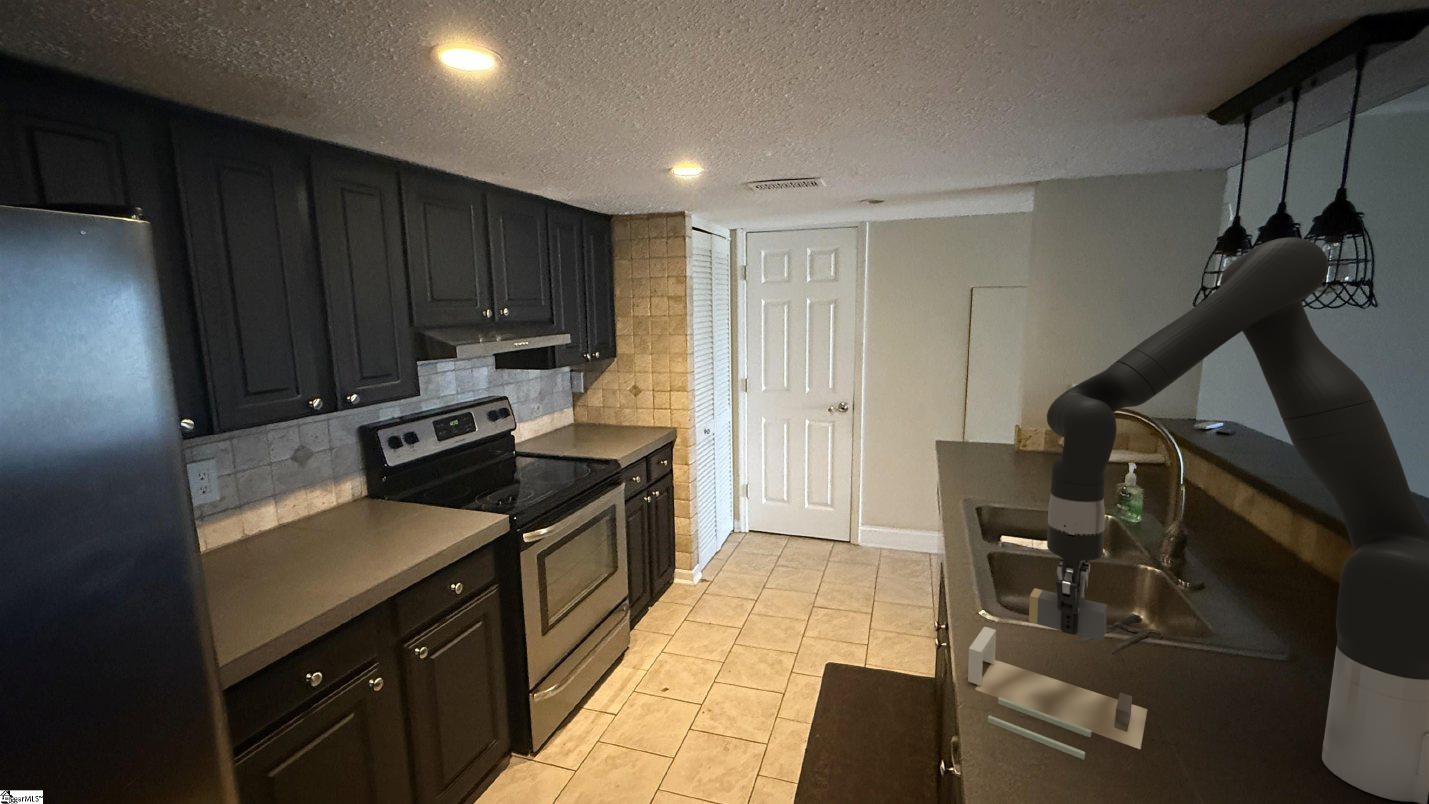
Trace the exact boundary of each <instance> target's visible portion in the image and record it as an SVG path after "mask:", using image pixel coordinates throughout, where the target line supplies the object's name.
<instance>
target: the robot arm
mask: <svg viewBox="0 0 1429 804" xmlns="http://www.w3.org/2000/svg"><path fill="white" fill-rule="evenodd" d="M1328 271H1329V260H1328V257H1327V255H1326V253H1325V251H1324V250H1323V249H1322V248H1321V247H1320V246H1319V245H1318V244H1316V243H1315V242H1313V241H1310V240H1308V239H1305V238H1301V237H1282V238H1276V239H1273V240H1269V241H1266V242H1264V243H1261V244H1259V245H1257V246H1255V247H1254V248H1252V249H1251V250H1249V251H1247V252H1245V254H1243V255H1241V256H1240V257H1238V258H1236V259H1235V260H1234V261H1232V262H1231V263H1230V264H1229V265H1228V266H1227V267H1226V269H1224V271H1223V274H1222V275H1221V277H1220V285H1219V287H1218V288H1217V289H1216V290H1215V291H1213V292H1212V293H1211V294H1210V295H1209V296H1208V297H1206V298H1204V299H1203V300H1202V301H1201V302H1200V303H1198V304H1197V305H1195V306H1194V307H1193V308H1191V309H1190V310H1188V311H1187V312H1186V313H1184V314H1183V315H1181V316H1179V317H1178V318H1177V319H1175V320H1174V321H1172V322H1171V323H1169V324H1167V325H1165V326H1164V327H1163V328H1161V329H1160V330H1158V331H1156V332H1155V333H1153V334H1152V335H1150V336H1148V338H1146V339H1144V340H1143V341H1141V342H1140V343H1139V344H1137V345H1136V346H1135V347H1133V348H1132V349H1130V350H1129V351H1128V352H1127V353H1125V354H1124V355H1123V356H1121V357H1120V358H1118V359H1117V360H1116V361H1115V362H1113V364H1111V365H1109V367H1108V368H1106V369H1105V370H1103V371H1101V372H1100V373H1097V374H1095V375H1094V376H1090V377H1089V378H1087V379H1086V380H1083V381H1082V382H1080V383H1078V384H1076V385H1074V386H1073V387H1070V388H1069V389H1068V390H1066V391H1064V392H1063V393H1061V394H1060V395H1059V396H1058V397H1057V398H1056V399H1055V400H1054V401H1053V402H1052V403H1051V405H1050V406H1049V407H1048V410H1047V413H1046V421H1047V425H1048V426H1049V428H1050V429H1051V431H1053V433H1055V434H1056V435H1058V436H1060V437H1061V438H1063V447H1062V453H1061V456H1059V457H1057V458H1055V460H1054V461H1053V464H1052V466H1051V467H1052V468H1051V475H1050V477H1051V481H1050V482H1051V483H1050V484H1051V485H1050V497H1049V502H1048V508H1047V509H1048V512H1047V538H1046V548H1047V549H1048V551H1050V553H1051V554H1053V555H1056V556H1058V557H1060V563H1057V566H1056V568H1057V569H1056V574H1057V577H1058V579H1057V581H1056V583H1055V585H1056V593H1057V600H1058V605H1057V608H1058V610H1060V611H1061V630H1060V631H1061V632H1062V633H1064V634H1070V635H1077V631H1078V613H1079V611H1080V608H1079V603H1080V599H1084V600H1086V599H1085V598H1086V596H1085V593H1086V592H1087V591H1088V585H1089V575H1090V571H1091V563H1090V562H1091V561H1096V560H1098V559H1101V558H1102V557H1103V556H1104V545H1105V543H1104V541H1105V522H1106V519H1105V518H1106V507H1105V498H1104V497H1105V484H1106V483H1105V482H1106V473H1105V472H1106V469H1107V466H1108V464H1109V462H1110V459H1111V454H1112V452H1113V449H1114V445H1115V442H1116V436H1117V430H1118V428H1117V419H1116V416H1115V413H1116V412H1118V411H1119V410H1121V409H1124V408H1130V407H1131V408H1132V407H1138V406H1139V407H1140V406H1141V405H1143V404H1145V403H1147V402H1148V401H1149V400H1151V399H1152V398H1153V397H1155V396H1156V395H1158V394H1159V393H1160V392H1162V391H1163V390H1165V389H1166V388H1167V387H1169V386H1170V385H1172V384H1173V383H1174V382H1176V381H1177V380H1179V378H1180V377H1182V376H1183V375H1184V374H1186V373H1187V372H1189V371H1190V370H1191V369H1193V368H1194V367H1195V366H1196V365H1197V364H1199V363H1200V362H1202V361H1203V360H1204V359H1205V358H1207V357H1208V356H1209V355H1210V354H1212V353H1214V351H1216V350H1217V349H1219V348H1220V347H1221V346H1222V345H1224V344H1226V343H1227V342H1228V341H1230V340H1231V339H1233V338H1234V337H1237V335H1239V334H1240V333H1241V332H1242V333H1243V335H1244V337H1245V339H1247V341H1248V343H1249V345H1250V347H1251V349H1252V351H1253V352H1254V354H1255V357H1256V359H1257V362H1258V364H1259V366H1260V369H1261V372H1262V374H1263V376H1264V379H1265V382H1266V383H1267V385H1268V388H1269V390H1270V393H1271V395H1272V397H1273V399H1274V402H1275V404H1276V407H1277V409H1278V412H1279V415H1280V418H1281V419H1282V422H1283V424H1284V426H1285V427H1284V428H1285V429H1286V431H1287V433H1288V436H1289V439H1290V440H1291V443H1292V445H1293V446H1294V448H1295V451H1296V452H1297V454H1298V455H1299V458H1301V460H1302V461H1303V462H1304V465H1306V467H1307V468H1308V469H1309V471H1311V473H1312V474H1313V475H1314V477H1315V478H1316V479H1317V480H1318V482H1320V483H1321V485H1322V486H1323V487H1324V488H1325V490H1326V491H1327V492H1328V494H1329V495H1330V496H1331V497H1332V500H1333V501H1334V502H1335V505H1336V506H1337V507H1338V510H1339V512H1340V514H1341V517H1342V519H1343V521H1344V524H1345V526H1346V527H1345V528H1346V529H1347V533H1348V537H1349V540H1350V543H1351V547H1352V550H1353V551H1352V552H1353V553H1352V554H1351V555H1350V557H1348V559H1347V560H1346V562H1344V565H1343V567H1342V571H1341V575H1340V579H1339V580H1340V581H1339V587H1338V588H1339V590H1338V597H1337V608H1336V618H1335V629H1336V633H1337V640H1336V648H1335V656H1334V663H1333V668H1332V678H1331V684H1330V694H1329V701H1328V707H1327V716H1326V723H1325V729H1324V738H1323V742H1322V754H1321V759H1322V762H1323V764H1324V765H1325V767H1326V768H1327V769H1328V770H1329V771H1330V772H1331V773H1333V775H1335V776H1337V777H1338V778H1340V779H1341V780H1342V781H1344V782H1346V783H1347V784H1348V785H1351V786H1353V787H1355V788H1357V789H1359V790H1361V791H1364V792H1366V793H1368V794H1372V795H1374V796H1375V797H1376V796H1377V797H1380V798H1384V799H1388V800H1391V801H1395V802H1397V801H1399V802H1412V803H1413V802H1414V803H1417V804H1428V799H1429V521H1428V520H1427V518H1426V517H1425V515H1424V513H1423V512H1422V511H1421V509H1420V507H1419V506H1418V504H1417V502H1416V500H1415V498H1414V496H1413V493H1412V492H1411V488H1410V486H1409V484H1408V480H1407V477H1406V474H1405V471H1404V468H1403V465H1402V463H1401V460H1400V457H1399V454H1398V452H1397V450H1396V447H1395V445H1394V442H1393V439H1392V437H1391V435H1390V432H1389V430H1388V428H1387V425H1386V423H1385V420H1384V418H1383V416H1382V413H1381V412H1380V410H1379V406H1378V405H1377V403H1376V401H1375V399H1374V397H1373V395H1372V393H1371V391H1370V390H1369V388H1368V387H1367V385H1366V384H1365V382H1364V381H1363V380H1362V379H1361V378H1360V376H1358V375H1357V373H1356V372H1354V370H1352V369H1351V368H1350V366H1349V365H1347V364H1346V363H1345V362H1344V361H1343V360H1342V359H1340V358H1339V357H1338V356H1337V355H1336V354H1334V353H1333V352H1332V351H1331V350H1330V349H1329V347H1327V346H1326V345H1325V344H1324V343H1323V341H1322V340H1321V339H1320V338H1319V336H1318V335H1317V334H1316V332H1315V331H1314V328H1313V326H1312V325H1311V322H1310V319H1309V317H1308V315H1307V313H1306V311H1305V307H1304V304H1303V302H1302V301H1303V300H1305V299H1307V298H1308V297H1309V296H1311V295H1312V294H1314V292H1316V291H1317V290H1318V289H1319V288H1320V287H1321V285H1322V284H1323V283H1324V281H1325V280H1326V277H1327V274H1328ZM1066 602H1069V603H1066ZM1070 603H1071V604H1070Z"/></svg>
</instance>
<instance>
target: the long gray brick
mask: <svg viewBox="0 0 1429 804" xmlns="http://www.w3.org/2000/svg"><path fill="white" fill-rule="evenodd" d="M1066 603H1069V602H1066ZM1070 604H1071V603H1070ZM1057 605H1058V600H1057V592H1053V591H1048V590H1044V589H1039V588H1036V587H1034V589H1033V590H1032V591H1031V593H1030V594H1029V607H1028V608H1029V610H1028V611H1029V614H1028V622H1029V623H1030V624H1034V625H1035V624H1036V625H1038V626H1043V627H1046V628H1051V629H1055V630H1059V631H1061V611H1060V610H1058V608H1057ZM1079 608H1080V611H1079V613H1078V631H1077V634H1076V635H1077V636H1080V637H1081V636H1082V637H1084V636H1085V637H1088V638H1092V639H1091V640H1095V641H1096V640H1097V641H1101V642H1104V639H1105V636H1106V634H1107V633H1106V627H1107V617H1108V616H1107V613H1108V604H1106V603H1103V602H1097V601H1093V600H1088V599H1080V603H1079Z"/></svg>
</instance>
